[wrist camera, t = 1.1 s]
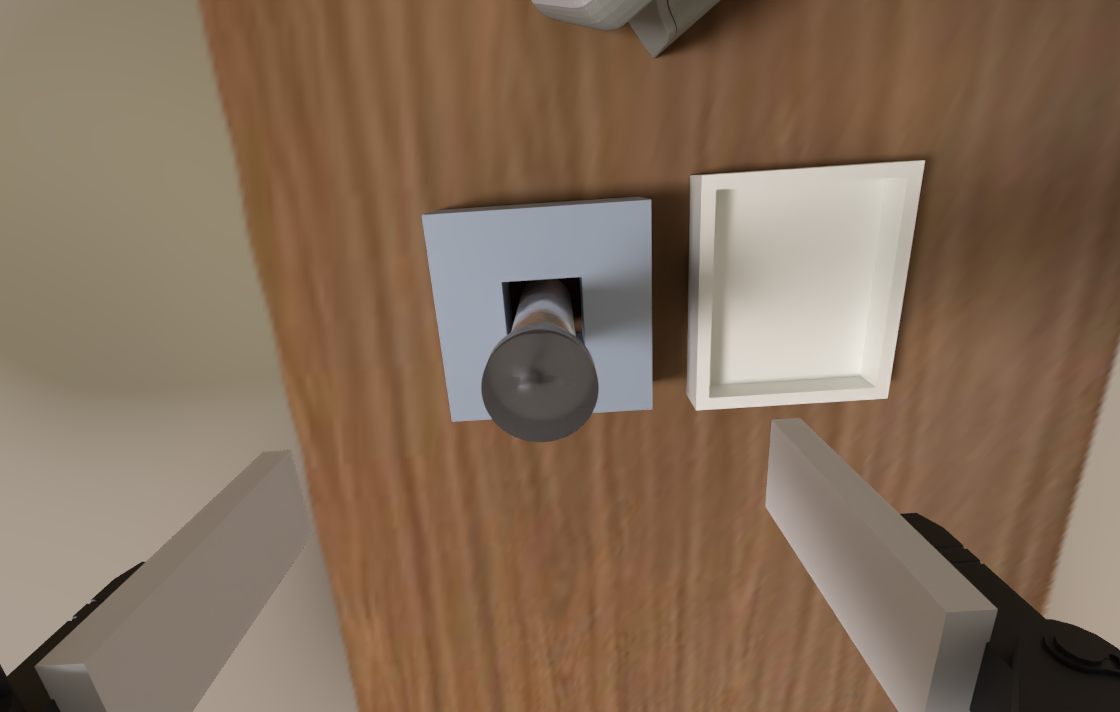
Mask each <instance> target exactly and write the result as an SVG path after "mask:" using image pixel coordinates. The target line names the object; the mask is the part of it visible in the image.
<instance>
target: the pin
mask: <svg viewBox="0 0 1120 712" xmlns="http://www.w3.org/2000/svg"><path fill="white" fill-rule="evenodd" d="M598 392H599V385H598V378H597V373H596V368H595V364H594V361H593V358H592V356H591V354H590V352H589V350H588V349H587V348H586V346H585V345H584V344H583V343H582V342H581V341H580V340H579V339H578V338H577V337H576V334H575V326H574V319H573V311H572V304H571V297H570V293H569V291H568V289H567V287H566V286H565V285H564V284H563V283H562V282H561V281H559V280H557V279H543V280H532V281H531V282H529V283H528V284H527V285H526V286H525V288H524V289H523V291H522V294H521V298H520V301H519V305H518V309H517V312H516V316H515V320H514V324H513V327H512V331H511V333H509V334H508V335H506V336H505V337H504V338H503V339H502V340H501V341H499V342H498V344H497V345H496V346H495V347H494V349H493V350H492V352H491V354H490V356H489V359H488V361H487V364H486V367H485V370H484V372H483V377H482V383H481V393H482V398H483V402H484V405H485V408H486V410H487V412H488V414H489V415H490V417H491V418H492V420H493V421H494V422H495V423H496V424H497V425H498V426H499V427H500V428H501V429H503V430H504V431H506V432H507V433H509V434H510V435H512V436H514V437H517V438H520V439H522V440H527V441H532V442H548V441H554V440H558V439H561V438H564V437H566V436H568V435H570V434H572V433H574V432H575V431H577V430H578V429H579V428H580V427H581V426H583V425H584V423H585V422H586V421H587V420H588V419H589V417H590V416H591V414H592V412H593V410H594V408H595V406H596V403H597V399H598Z"/></svg>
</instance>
